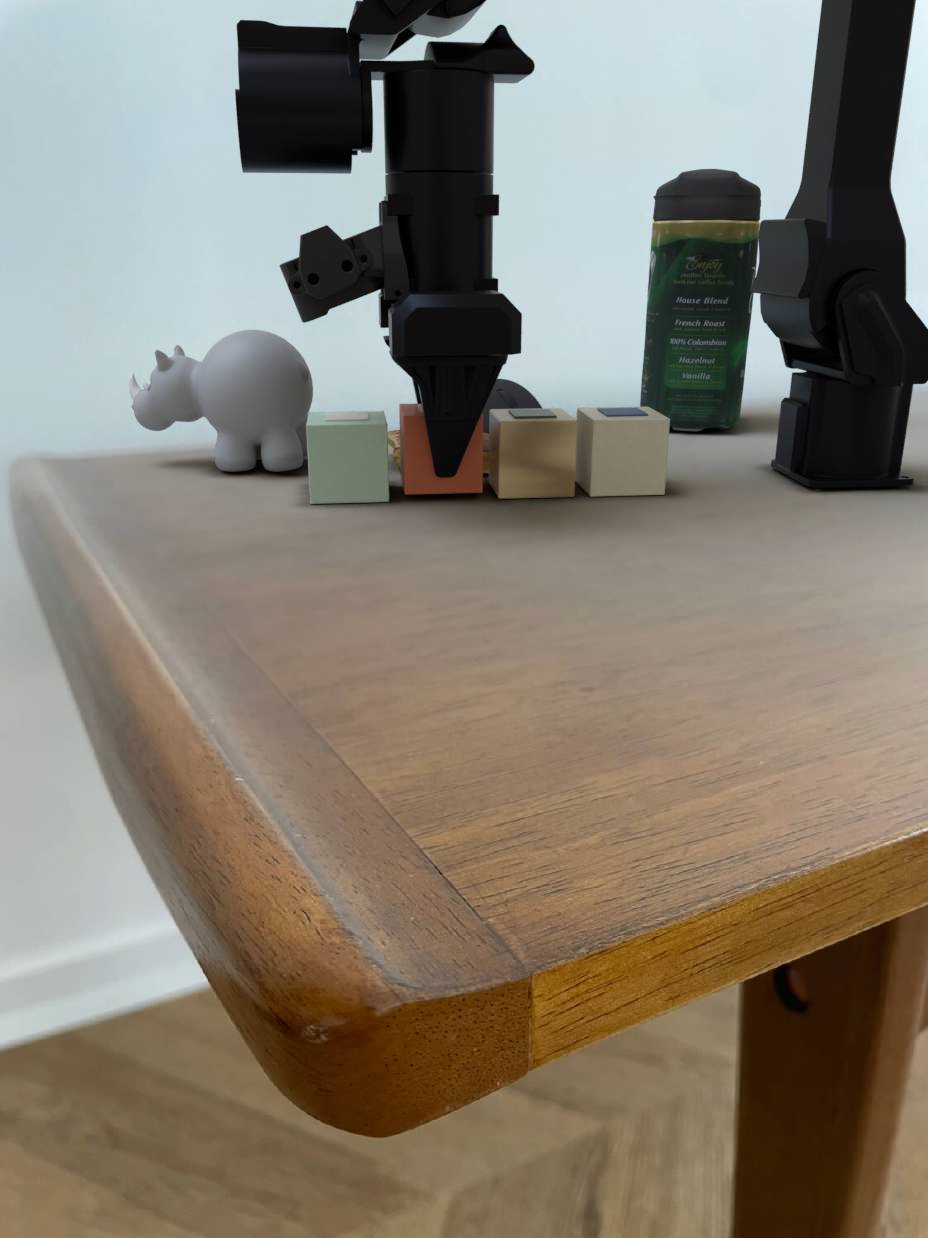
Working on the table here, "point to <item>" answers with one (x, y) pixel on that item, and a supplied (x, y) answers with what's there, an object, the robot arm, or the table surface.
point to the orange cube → (419, 460)
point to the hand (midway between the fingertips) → (441, 467)
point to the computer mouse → (508, 399)
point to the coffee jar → (700, 298)
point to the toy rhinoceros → (235, 399)
